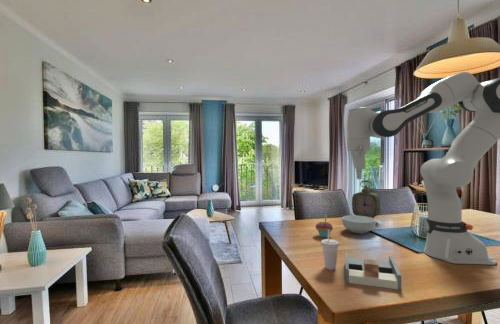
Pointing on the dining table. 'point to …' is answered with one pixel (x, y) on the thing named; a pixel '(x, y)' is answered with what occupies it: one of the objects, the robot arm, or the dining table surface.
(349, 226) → the cereal bowl
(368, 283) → the board
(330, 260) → the smoothie
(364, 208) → the tabletop clock
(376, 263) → the terracotta block
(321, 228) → the cupcake
